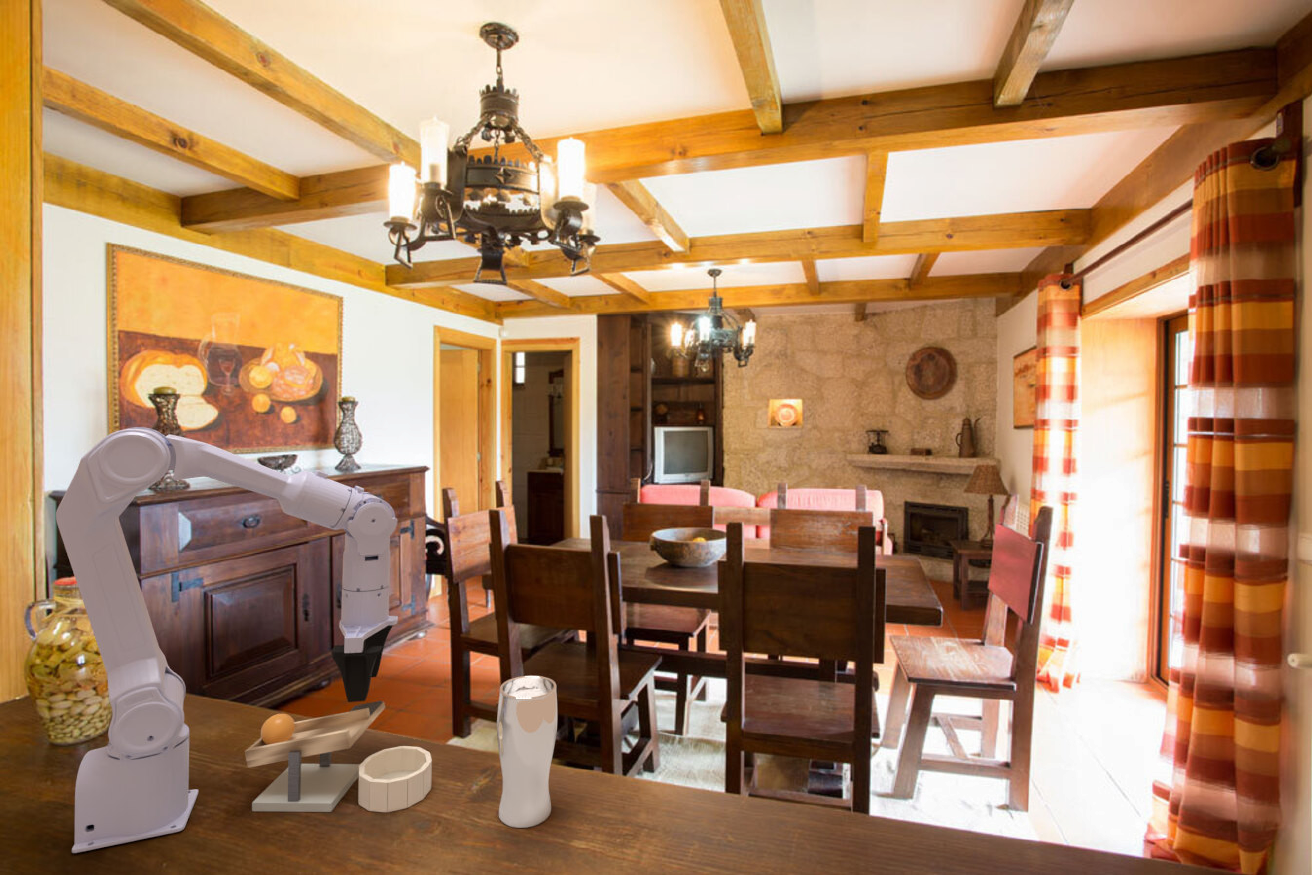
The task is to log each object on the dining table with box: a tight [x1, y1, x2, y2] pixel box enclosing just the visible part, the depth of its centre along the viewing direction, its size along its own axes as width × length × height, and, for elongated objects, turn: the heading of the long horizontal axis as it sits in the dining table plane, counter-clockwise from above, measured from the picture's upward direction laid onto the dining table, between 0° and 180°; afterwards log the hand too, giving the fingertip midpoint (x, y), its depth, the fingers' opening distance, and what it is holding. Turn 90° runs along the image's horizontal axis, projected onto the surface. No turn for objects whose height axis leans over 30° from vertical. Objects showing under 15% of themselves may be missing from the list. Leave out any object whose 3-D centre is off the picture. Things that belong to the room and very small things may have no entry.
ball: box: [260, 713, 296, 745], centre depth 77 cm, size 4×4×4 cm
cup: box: [357, 745, 433, 813], centre depth 78 cm, size 8×8×4 cm
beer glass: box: [496, 675, 558, 829], centre depth 74 cm, size 7×7×15 cm
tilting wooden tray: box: [244, 700, 386, 768], centre depth 79 cm, size 12×11×2 cm
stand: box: [251, 750, 361, 813], centre depth 77 cm, size 9×8×7 cm
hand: (363, 688), depth 84 cm, fingers open, 7 cm apart
